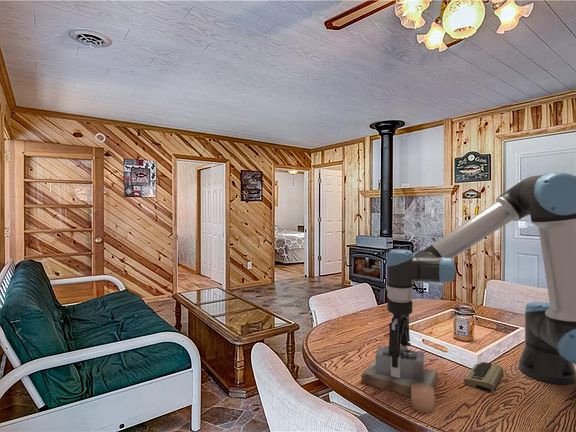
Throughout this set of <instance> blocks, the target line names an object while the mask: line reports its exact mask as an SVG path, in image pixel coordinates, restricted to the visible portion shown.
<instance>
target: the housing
mask: <svg viewBox="0 0 576 432" xmlns="http://www.w3.org/2000/svg"><path fill="white" fill-rule="evenodd" d="M388 353H389V345H388V346H387V345H384V346H381V345H379V346H378V347H377V350H376V352H375V359H376V374H381V375H387V376H391V356H389V355H388ZM399 355H400V356H401V371H400V378H405V379H411V380H416V381H422V382H424V369H425V353H424V352H423V351H416V350H412V349H408V350H402V349H400V354H399Z"/></svg>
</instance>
